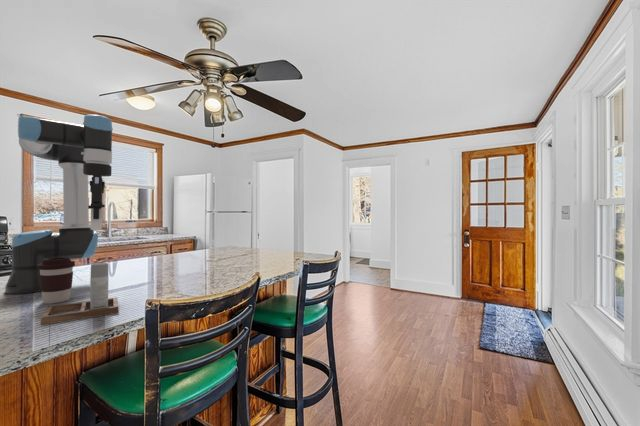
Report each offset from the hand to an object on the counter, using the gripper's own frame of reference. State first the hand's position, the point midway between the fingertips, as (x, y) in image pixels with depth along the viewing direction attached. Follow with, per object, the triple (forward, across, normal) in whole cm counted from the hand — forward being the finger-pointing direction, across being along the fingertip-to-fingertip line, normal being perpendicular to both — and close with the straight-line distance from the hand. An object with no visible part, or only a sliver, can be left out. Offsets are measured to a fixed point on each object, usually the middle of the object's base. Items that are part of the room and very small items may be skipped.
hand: (96, 227), depth 99 cm
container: (+26, +5, +1) cm, 27 cm away
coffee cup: (+27, -14, -12) cm, 33 cm away
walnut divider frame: (+26, +6, -3) cm, 27 cm away
